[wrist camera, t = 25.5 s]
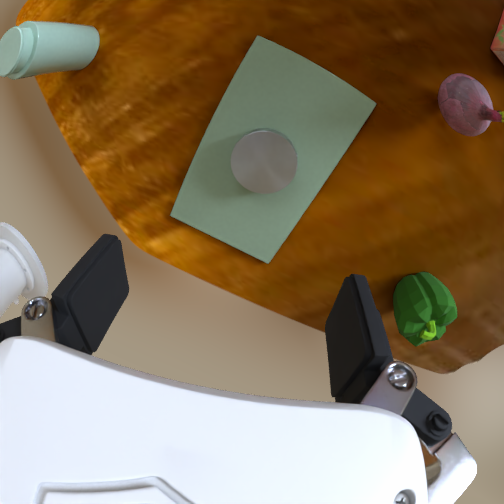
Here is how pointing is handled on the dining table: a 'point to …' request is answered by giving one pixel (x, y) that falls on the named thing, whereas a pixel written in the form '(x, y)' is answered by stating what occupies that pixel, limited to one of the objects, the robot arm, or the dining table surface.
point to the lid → (264, 161)
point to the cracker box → (499, 40)
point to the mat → (278, 118)
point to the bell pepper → (423, 308)
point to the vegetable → (466, 105)
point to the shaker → (46, 48)
